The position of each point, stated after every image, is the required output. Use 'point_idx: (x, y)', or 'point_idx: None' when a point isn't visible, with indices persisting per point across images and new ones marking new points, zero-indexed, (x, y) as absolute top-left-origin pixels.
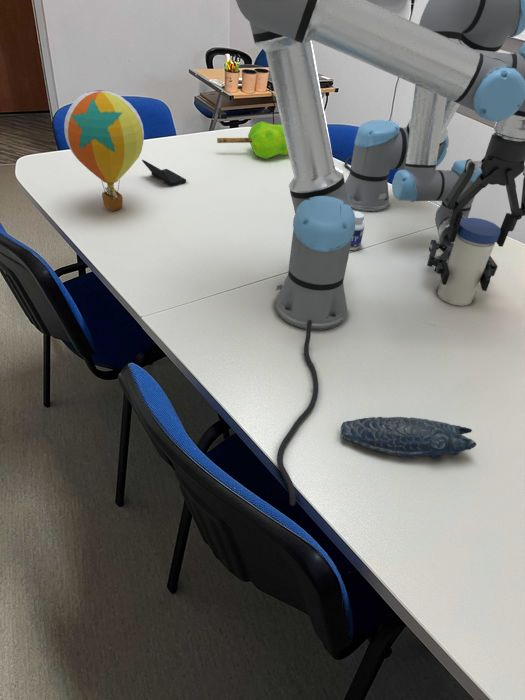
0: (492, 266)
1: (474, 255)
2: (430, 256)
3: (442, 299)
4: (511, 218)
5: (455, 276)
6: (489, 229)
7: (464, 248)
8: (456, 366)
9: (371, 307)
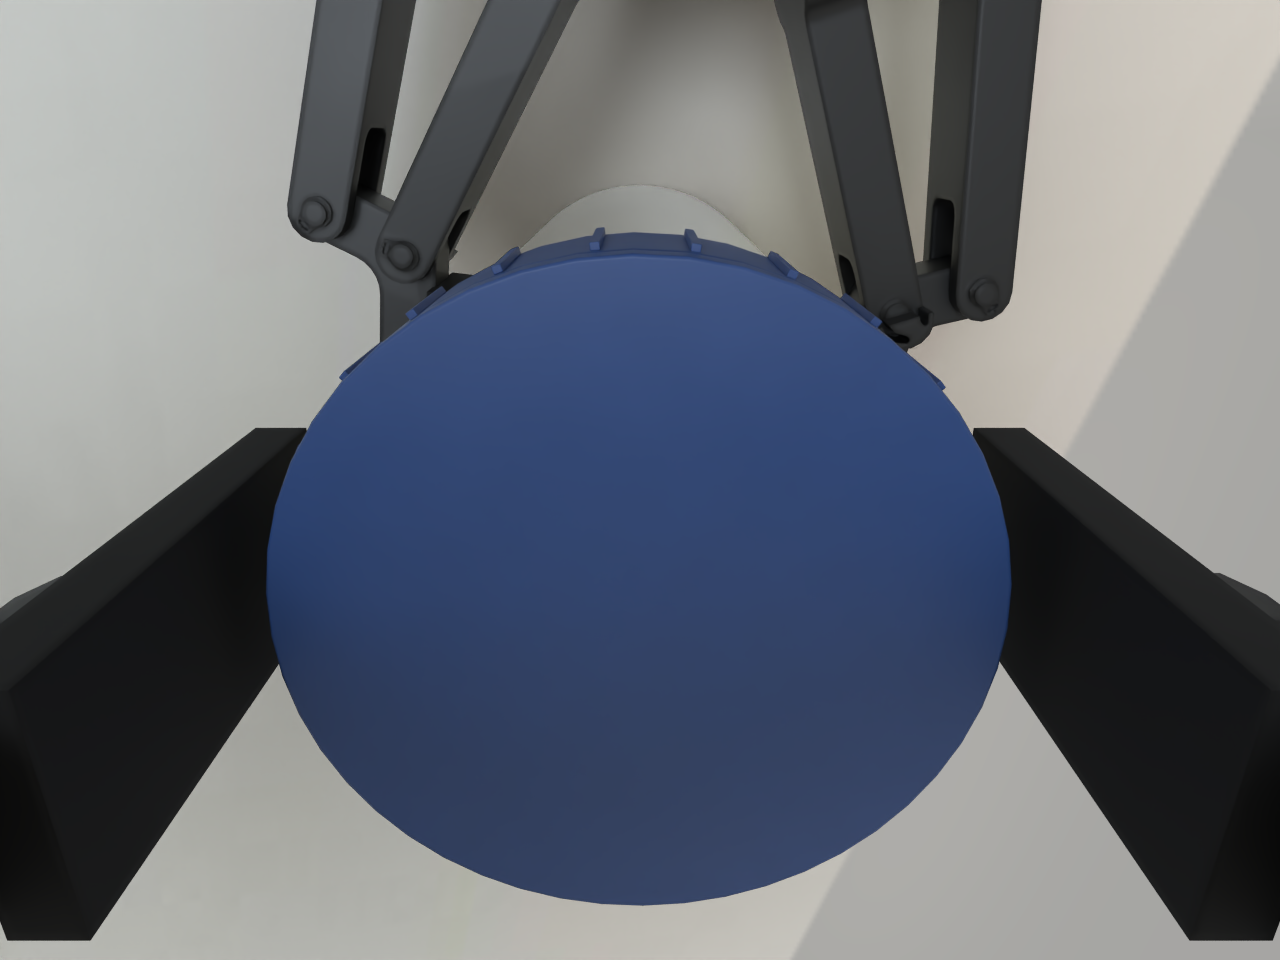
0: (954, 297)
1: None
2: (293, 225)
3: None
4: (1214, 937)
5: None
6: (778, 716)
7: None
8: (505, 946)
9: (42, 563)
